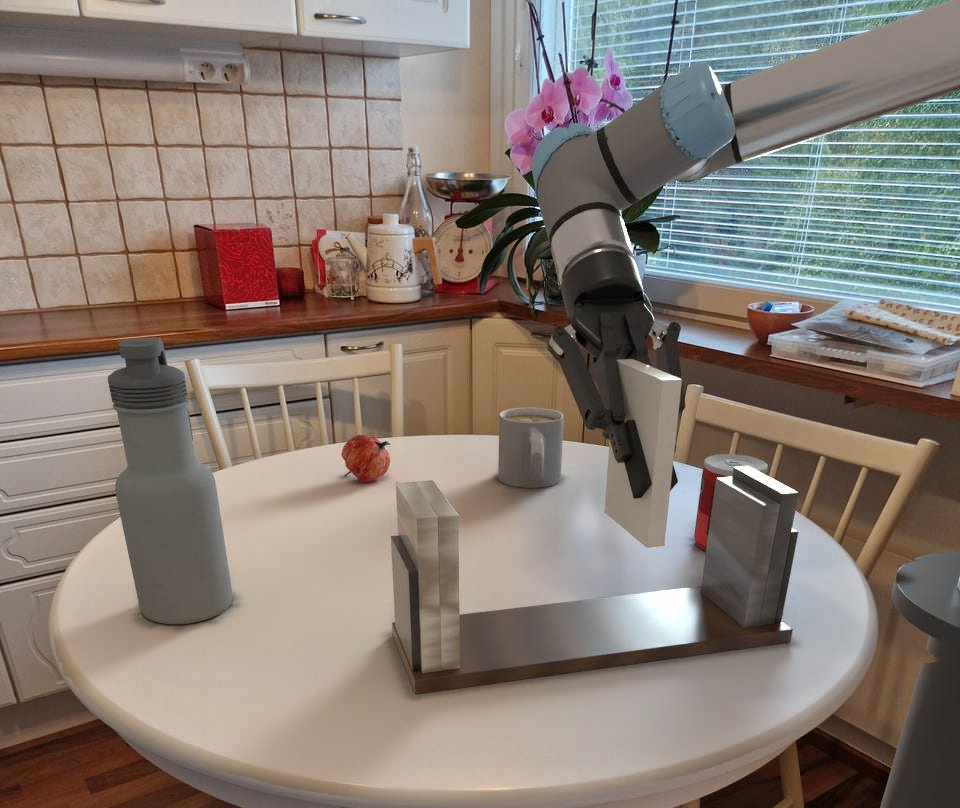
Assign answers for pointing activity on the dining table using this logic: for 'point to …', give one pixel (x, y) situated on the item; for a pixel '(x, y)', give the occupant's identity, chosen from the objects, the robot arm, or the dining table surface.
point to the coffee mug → (530, 447)
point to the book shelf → (593, 622)
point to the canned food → (711, 470)
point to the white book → (645, 451)
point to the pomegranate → (366, 457)
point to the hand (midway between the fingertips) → (655, 489)
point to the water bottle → (166, 493)
